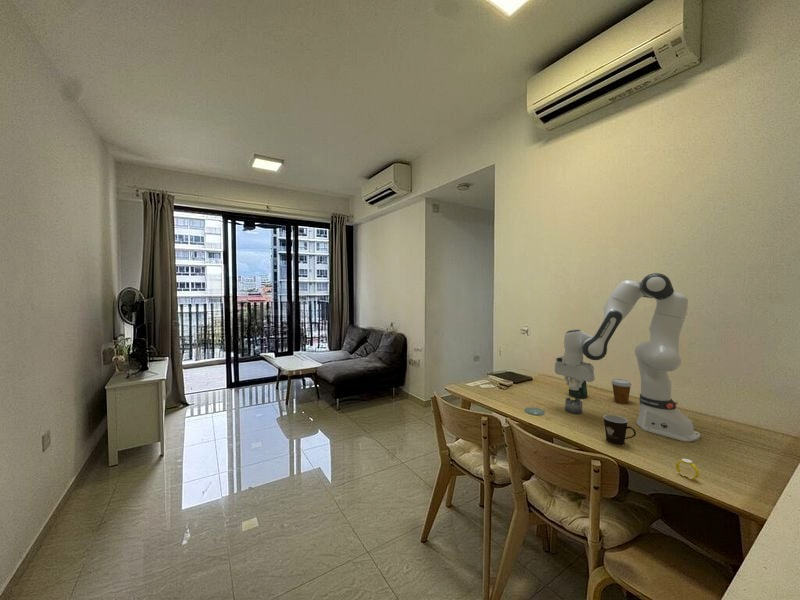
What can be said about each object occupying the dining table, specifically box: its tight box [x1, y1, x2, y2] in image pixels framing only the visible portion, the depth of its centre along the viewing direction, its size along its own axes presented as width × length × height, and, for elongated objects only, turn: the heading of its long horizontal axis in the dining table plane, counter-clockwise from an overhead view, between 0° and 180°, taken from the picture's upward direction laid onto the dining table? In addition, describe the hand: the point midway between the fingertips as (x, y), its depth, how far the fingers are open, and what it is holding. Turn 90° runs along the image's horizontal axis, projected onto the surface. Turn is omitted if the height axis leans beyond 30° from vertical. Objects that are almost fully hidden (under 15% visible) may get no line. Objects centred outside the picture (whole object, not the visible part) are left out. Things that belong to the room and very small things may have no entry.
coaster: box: [524, 406, 546, 416], centre depth 170 cm, size 10×10×1 cm
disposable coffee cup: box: [611, 378, 632, 405], centre depth 181 cm, size 10×10×12 cm
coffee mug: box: [602, 414, 637, 446], centre depth 134 cm, size 12×9×10 cm
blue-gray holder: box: [564, 397, 583, 415], centre depth 169 cm, size 8×8×6 cm
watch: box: [675, 458, 700, 480], centre depth 110 cm, size 6×3×6 cm, turn 24°
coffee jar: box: [568, 377, 588, 399], centre depth 192 cm, size 10×8×19 cm
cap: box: [568, 378, 579, 390], centre depth 168 cm, size 5×4×5 cm
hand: (573, 386), depth 168 cm, fingers closed on cap, 4 cm apart
